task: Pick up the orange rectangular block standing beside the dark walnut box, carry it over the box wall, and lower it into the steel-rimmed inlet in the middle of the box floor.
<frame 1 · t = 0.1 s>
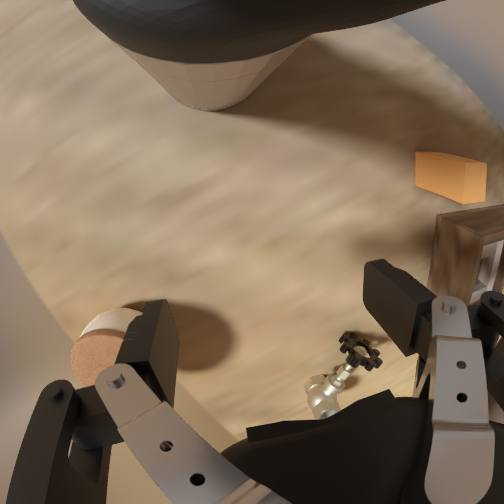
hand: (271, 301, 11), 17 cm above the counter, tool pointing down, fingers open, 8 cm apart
lidded jar: (133, 328, 31), on the counter
inlet box: (467, 264, 35), on the counter
valve: (329, 363, 38), on the counter
orange rectangular block: (427, 168, 28), on the counter
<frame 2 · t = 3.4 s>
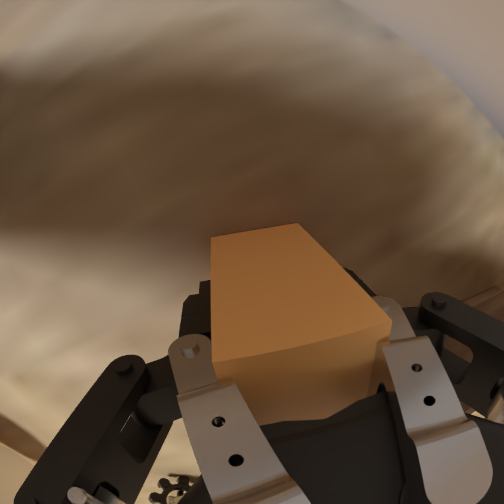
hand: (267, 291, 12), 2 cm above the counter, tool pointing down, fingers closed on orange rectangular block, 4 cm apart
inlet box: (402, 396, 20), on the counter
valve: (171, 489, 23), on the counter
orange rectangular block: (260, 269, 14), on the counter, touching gripper
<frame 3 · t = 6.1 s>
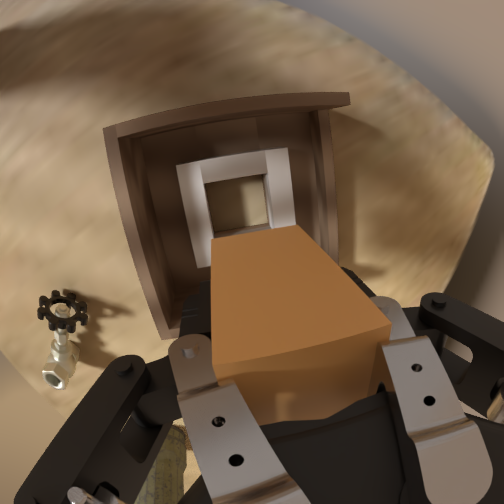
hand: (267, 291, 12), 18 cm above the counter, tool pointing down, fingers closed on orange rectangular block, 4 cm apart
thermos: (161, 433, 41), on the counter
inlet box: (236, 201, 28), on the counter
valve: (70, 328, 31), on the counter
orange rectangular block: (260, 271, 14), point 16 cm above the counter, touching gripper
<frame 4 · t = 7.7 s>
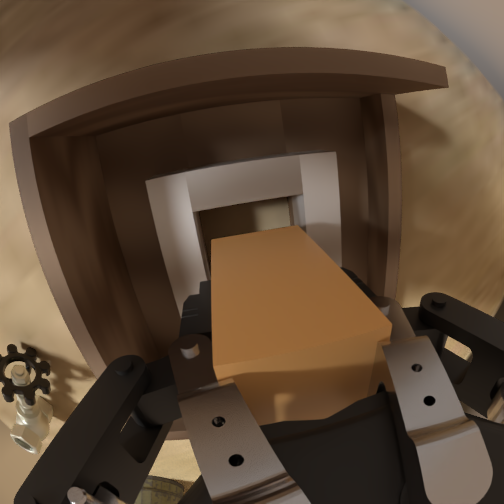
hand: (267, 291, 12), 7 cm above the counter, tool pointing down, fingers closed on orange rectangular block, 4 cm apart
thermos: (156, 484, 31), on the counter
inlet box: (248, 233, 18), on the counter
valve: (38, 383, 21), on the counter
orange rectangular block: (260, 271, 14), point 5 cm above the counter, touching gripper
when the fingers open (5 cm above the counter, at t = 9.0 s): orange rectangular block drops 2 cm, resting in inlet box.
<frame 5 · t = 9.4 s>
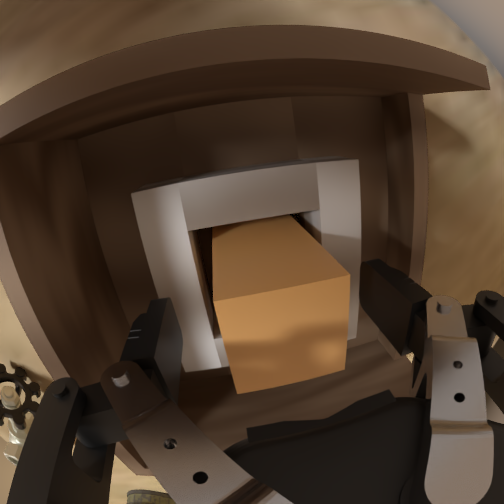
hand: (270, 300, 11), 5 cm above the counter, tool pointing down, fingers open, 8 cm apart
thermos: (154, 498, 29), on the counter
inlet box: (252, 251, 16), on the counter
valve: (30, 401, 19), on the counter
orange rectangular block: (254, 251, 16), resting in inlet box
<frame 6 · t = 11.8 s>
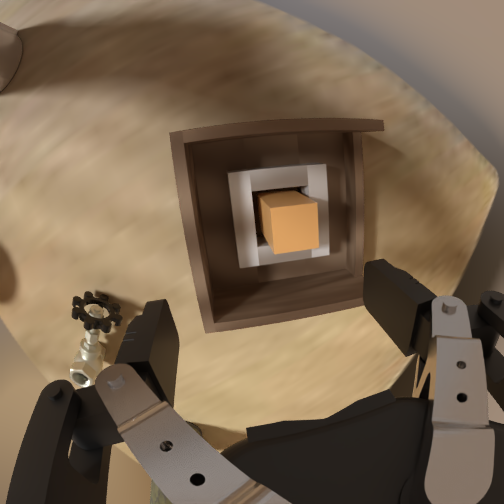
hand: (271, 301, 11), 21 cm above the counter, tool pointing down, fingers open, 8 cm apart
thermos: (178, 431, 43), on the counter
inlet box: (275, 209, 31), on the counter
valve: (99, 328, 34), on the counter
orange rectangular block: (276, 209, 31), resting in inlet box
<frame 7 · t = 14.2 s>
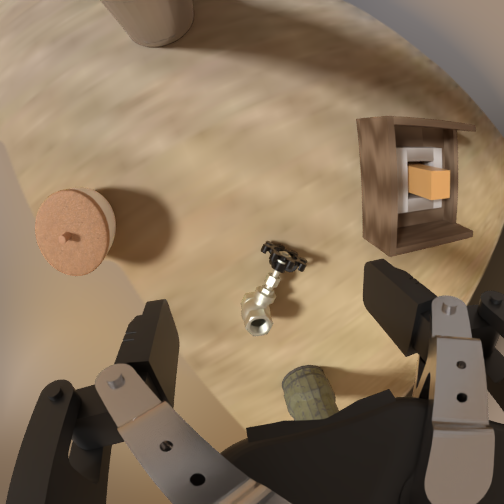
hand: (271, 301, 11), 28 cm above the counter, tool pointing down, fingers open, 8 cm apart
lidded jar: (92, 217, 36), on the counter
thermos: (302, 380, 52), on the counter
inlet box: (408, 176, 39), on the counter
valve: (263, 279, 43), on the counter
orange rectangular block: (408, 176, 39), resting in inlet box
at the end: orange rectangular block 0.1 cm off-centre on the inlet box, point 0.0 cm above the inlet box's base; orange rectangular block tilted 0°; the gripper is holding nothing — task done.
